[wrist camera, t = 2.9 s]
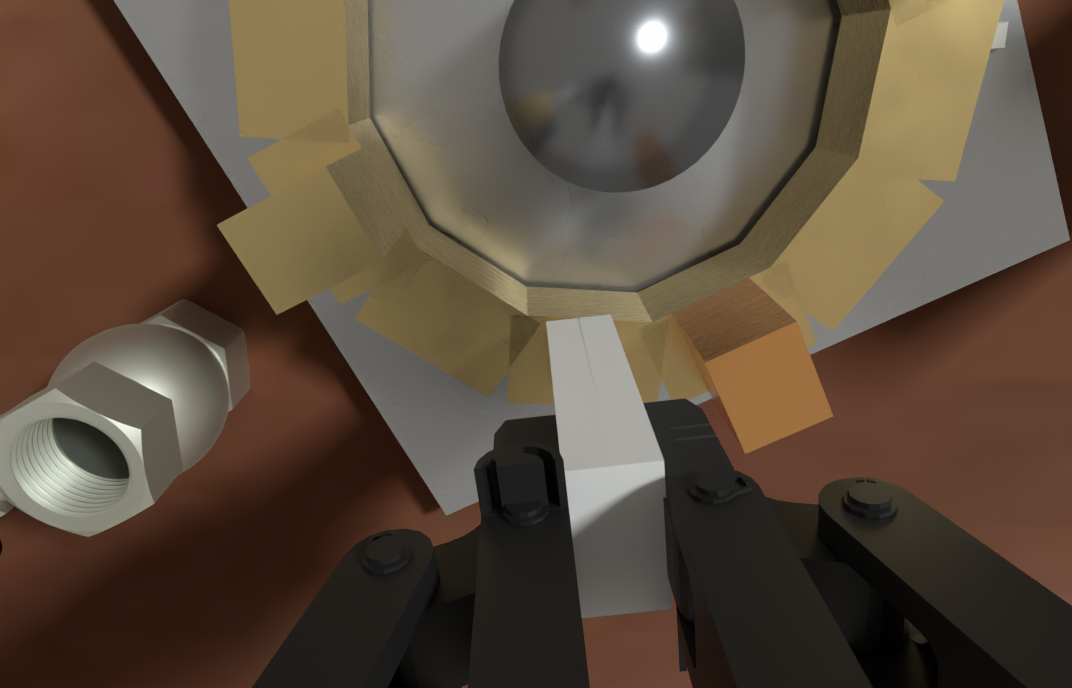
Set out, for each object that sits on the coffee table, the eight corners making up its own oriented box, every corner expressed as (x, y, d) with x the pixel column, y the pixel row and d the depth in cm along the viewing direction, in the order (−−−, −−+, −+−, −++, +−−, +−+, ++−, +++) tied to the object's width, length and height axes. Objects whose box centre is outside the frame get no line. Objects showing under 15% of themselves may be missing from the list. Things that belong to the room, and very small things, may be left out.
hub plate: (449, 497, 24) (432, 602, 19) (46, -134, 17) (-129, -209, 13) (1045, 232, 21) (1195, 279, 16) (841, -646, 14) (995, -987, 10)
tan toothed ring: (468, 453, 22) (452, 578, 17) (127, -107, 16) (-61, -190, 11) (999, 213, 20) (1179, 268, 14) (809, -533, 14) (986, -896, 9)
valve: (182, 230, 21) (-129, 409, 22) (39, 301, 14) (-375, 539, 16) (312, 412, 23) (19, 561, 25) (236, 540, 17) (-148, 727, 18)
